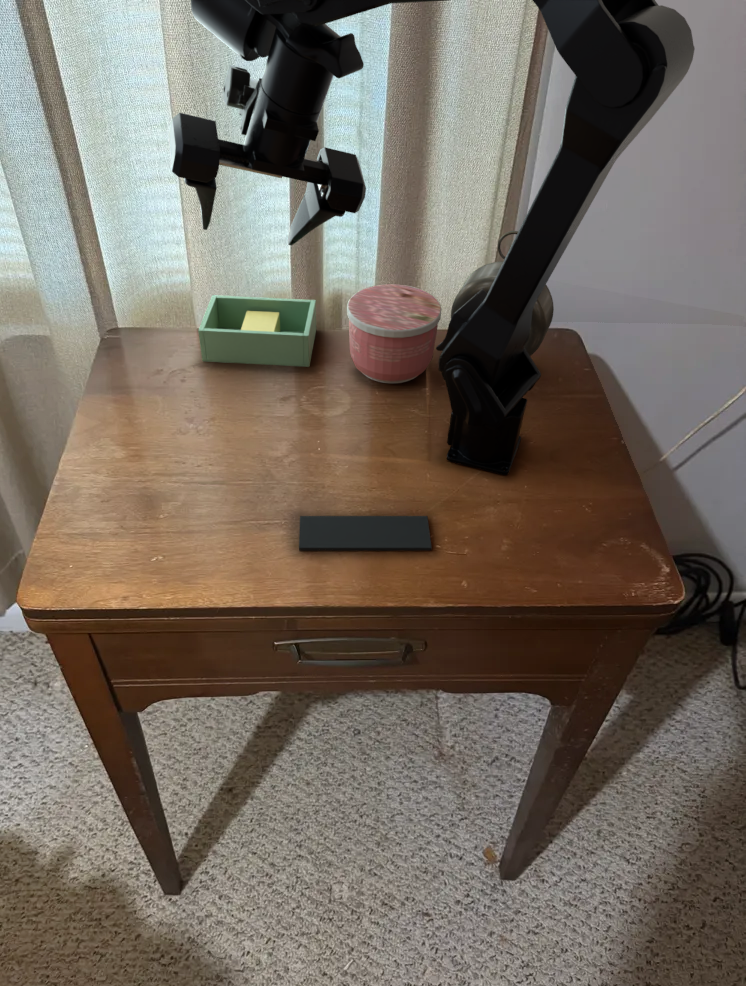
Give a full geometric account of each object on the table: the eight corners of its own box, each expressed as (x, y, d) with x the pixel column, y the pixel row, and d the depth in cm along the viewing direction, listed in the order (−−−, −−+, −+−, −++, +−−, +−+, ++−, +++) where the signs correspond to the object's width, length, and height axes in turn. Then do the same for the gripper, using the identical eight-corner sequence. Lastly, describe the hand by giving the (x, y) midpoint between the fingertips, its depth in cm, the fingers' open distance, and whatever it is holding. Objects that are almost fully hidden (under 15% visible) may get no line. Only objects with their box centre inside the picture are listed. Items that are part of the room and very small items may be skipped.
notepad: (280, 332, 94) (279, 312, 92) (273, 358, 90) (272, 337, 88) (248, 331, 94) (246, 310, 92) (240, 357, 90) (238, 336, 88)
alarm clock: (541, 365, 90) (573, 230, 78) (530, 389, 87) (562, 251, 75) (454, 344, 93) (472, 212, 82) (440, 366, 90) (456, 231, 78)
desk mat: (427, 518, 71) (427, 515, 71) (431, 550, 68) (431, 547, 68) (300, 518, 71) (300, 515, 71) (298, 550, 68) (298, 547, 68)
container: (414, 403, 84) (421, 339, 79) (330, 379, 88) (330, 316, 82) (447, 357, 91) (455, 295, 85) (367, 337, 94) (370, 276, 88)
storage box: (316, 333, 95) (315, 299, 92) (309, 370, 89) (308, 335, 86) (216, 328, 95) (212, 294, 92) (202, 364, 89) (197, 330, 86)
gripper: (370, 66, 74) (318, 199, 86) (179, 10, 67) (152, 165, 79) (393, 140, 69) (334, 270, 82) (189, 88, 62) (159, 240, 74)
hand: (247, 234), depth 79 cm, fingers open, 9 cm apart
